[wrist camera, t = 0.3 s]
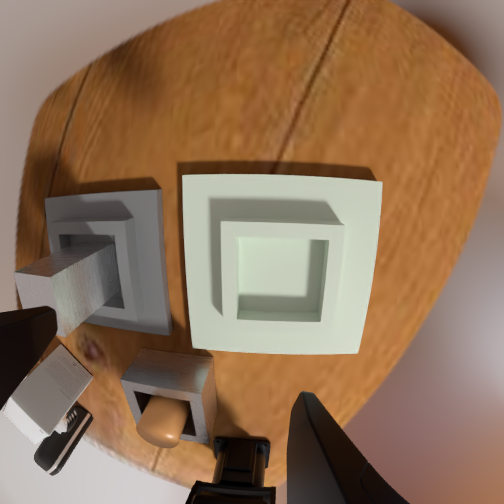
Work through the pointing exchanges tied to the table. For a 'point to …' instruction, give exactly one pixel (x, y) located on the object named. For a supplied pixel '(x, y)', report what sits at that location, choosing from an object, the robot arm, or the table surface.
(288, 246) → the pale green socket
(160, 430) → the tan egg
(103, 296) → the steel peg
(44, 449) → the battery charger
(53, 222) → the charcoal socket
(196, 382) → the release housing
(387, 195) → the table surface
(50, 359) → the small box
